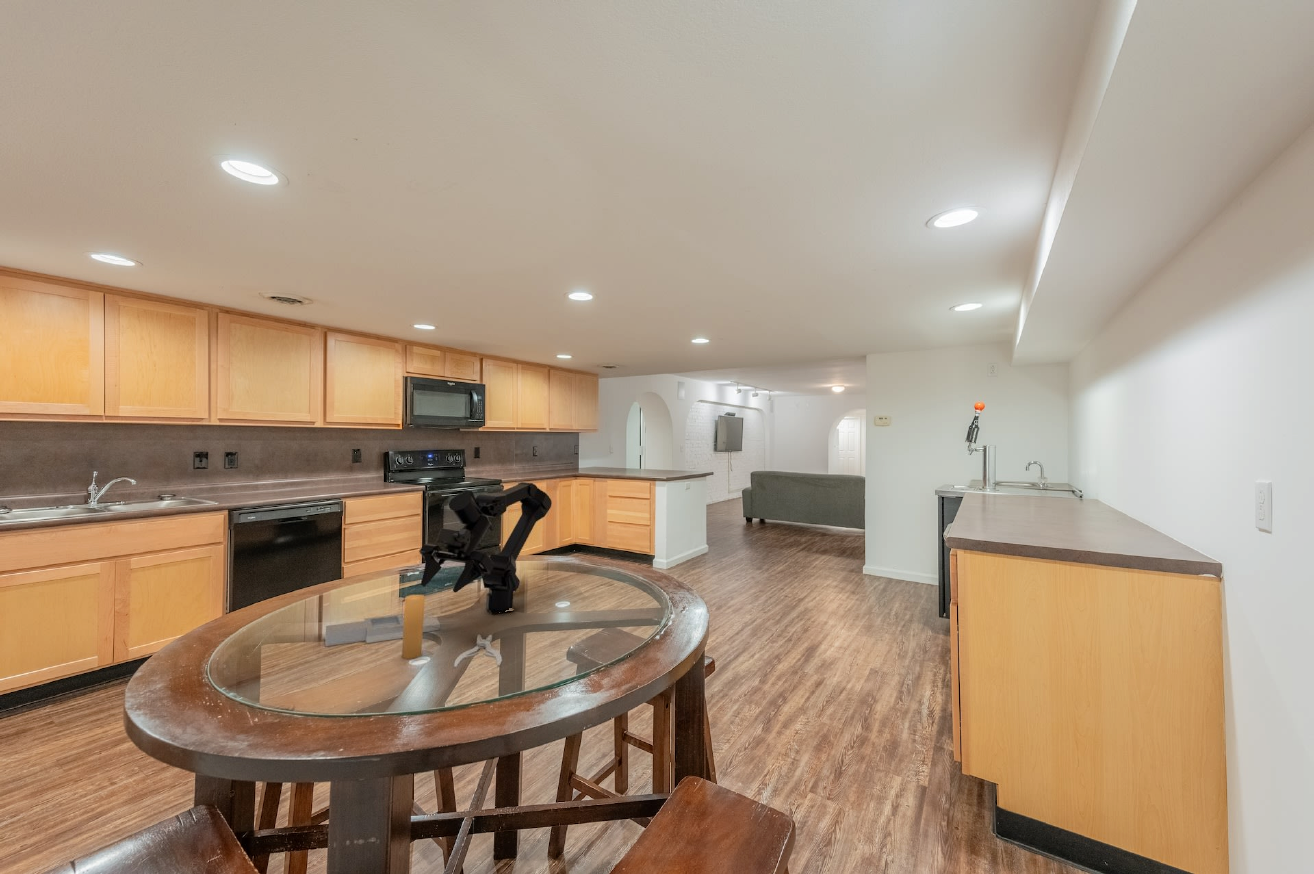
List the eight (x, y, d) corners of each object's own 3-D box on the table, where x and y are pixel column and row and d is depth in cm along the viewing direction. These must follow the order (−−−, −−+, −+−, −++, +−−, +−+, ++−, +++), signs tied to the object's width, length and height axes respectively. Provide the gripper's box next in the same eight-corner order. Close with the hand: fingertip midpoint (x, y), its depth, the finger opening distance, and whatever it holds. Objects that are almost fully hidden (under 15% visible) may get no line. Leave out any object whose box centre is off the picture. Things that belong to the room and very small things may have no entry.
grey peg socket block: (434, 621, 136) (435, 609, 136) (441, 632, 129) (441, 620, 129) (325, 635, 122) (325, 623, 122) (325, 649, 115) (326, 636, 115)
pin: (419, 650, 118) (423, 593, 118) (422, 656, 115) (426, 598, 115) (400, 653, 116) (404, 595, 116) (402, 660, 112) (406, 601, 112)
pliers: (453, 662, 110) (463, 634, 125) (452, 669, 110) (463, 641, 125) (500, 660, 113) (505, 634, 127) (500, 667, 113) (505, 640, 127)
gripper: (427, 511, 130) (389, 564, 120) (489, 519, 124) (455, 576, 114) (446, 537, 138) (412, 589, 127) (506, 546, 132) (476, 601, 121)
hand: (438, 588), depth 122 cm, fingers open, 9 cm apart
